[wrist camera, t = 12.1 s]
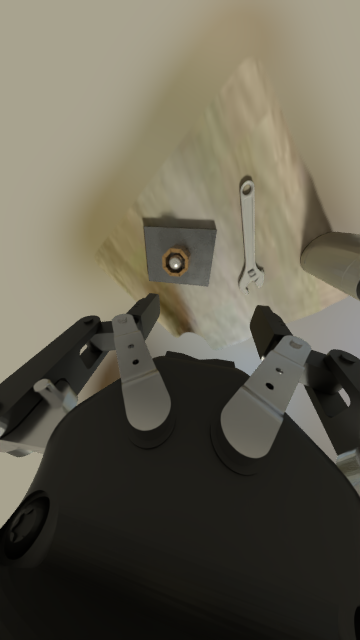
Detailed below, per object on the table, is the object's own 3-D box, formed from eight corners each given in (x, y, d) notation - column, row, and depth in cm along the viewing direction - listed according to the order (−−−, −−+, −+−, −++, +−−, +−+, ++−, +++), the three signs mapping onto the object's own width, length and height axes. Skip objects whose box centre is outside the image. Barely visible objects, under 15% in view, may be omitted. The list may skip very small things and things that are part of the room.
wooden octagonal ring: (191, 246, 37) (189, 249, 33) (189, 271, 41) (187, 277, 36) (167, 244, 38) (161, 247, 34) (167, 269, 41) (162, 275, 37)
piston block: (216, 229, 36) (217, 231, 29) (208, 283, 44) (207, 295, 37) (146, 226, 38) (133, 227, 31) (151, 278, 46) (141, 288, 39)
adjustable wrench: (238, 184, 31) (239, 182, 29) (272, 174, 29) (275, 171, 28) (238, 292, 44) (239, 294, 42) (261, 289, 42) (263, 292, 41)
